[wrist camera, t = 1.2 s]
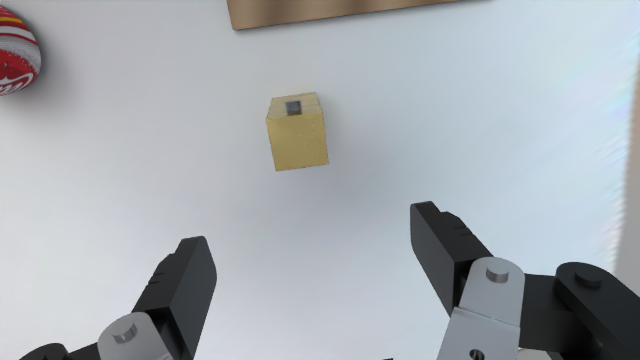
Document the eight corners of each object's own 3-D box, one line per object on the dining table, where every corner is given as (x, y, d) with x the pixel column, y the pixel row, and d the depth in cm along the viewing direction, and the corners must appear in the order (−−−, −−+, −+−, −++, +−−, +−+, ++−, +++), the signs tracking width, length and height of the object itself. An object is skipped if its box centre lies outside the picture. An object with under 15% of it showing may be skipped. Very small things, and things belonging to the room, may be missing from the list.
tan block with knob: (280, 145, 32) (277, 178, 25) (271, 91, 30) (264, 111, 23) (321, 139, 32) (329, 171, 25) (314, 85, 30) (321, 103, 23)
